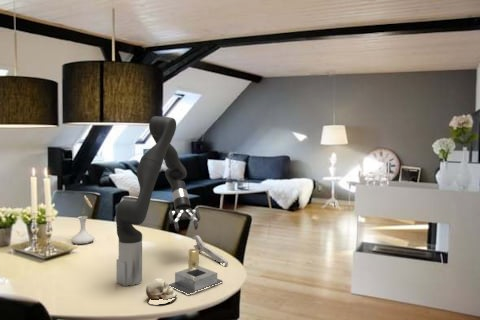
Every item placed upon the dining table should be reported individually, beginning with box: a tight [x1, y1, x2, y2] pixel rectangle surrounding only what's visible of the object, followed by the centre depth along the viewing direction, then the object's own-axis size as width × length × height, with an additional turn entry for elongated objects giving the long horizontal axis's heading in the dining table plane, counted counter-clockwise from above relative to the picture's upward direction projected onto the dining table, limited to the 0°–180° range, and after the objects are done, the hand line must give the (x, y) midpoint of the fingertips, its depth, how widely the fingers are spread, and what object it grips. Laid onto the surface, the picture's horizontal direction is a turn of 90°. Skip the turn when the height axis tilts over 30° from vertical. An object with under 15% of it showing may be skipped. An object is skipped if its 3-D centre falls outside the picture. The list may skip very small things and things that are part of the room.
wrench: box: [192, 235, 229, 265], centre depth 197 cm, size 8×2×30 cm
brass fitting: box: [187, 248, 200, 269], centre depth 176 cm, size 4×4×10 cm
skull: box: [145, 277, 178, 302], centre depth 149 cm, size 12×10×10 cm
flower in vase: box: [71, 195, 95, 245], centre depth 217 cm, size 13×11×25 cm
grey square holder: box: [168, 266, 223, 294], centre depth 163 cm, size 18×12×5 cm, turn 137°
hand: (187, 229), depth 186 cm, fingers open, 8 cm apart
